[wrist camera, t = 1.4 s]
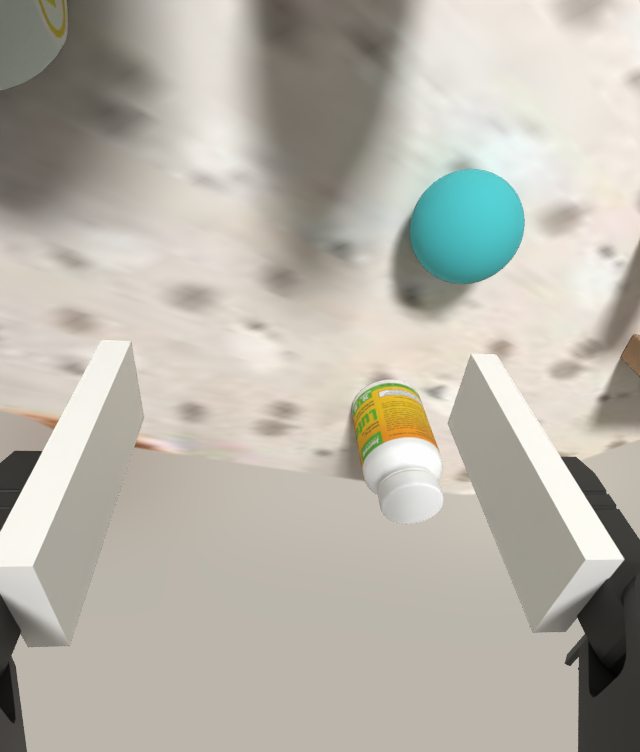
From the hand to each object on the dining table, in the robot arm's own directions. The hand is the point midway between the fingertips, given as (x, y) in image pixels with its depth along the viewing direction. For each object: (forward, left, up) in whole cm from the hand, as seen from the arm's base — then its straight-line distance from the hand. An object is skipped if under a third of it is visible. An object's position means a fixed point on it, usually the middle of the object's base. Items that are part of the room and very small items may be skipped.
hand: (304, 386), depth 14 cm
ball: (+10, 0, -15) cm, 17 cm away
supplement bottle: (+8, -15, -18) cm, 25 cm away
